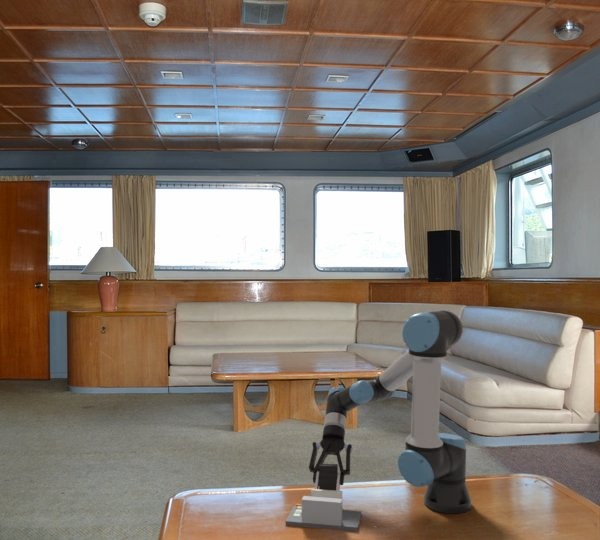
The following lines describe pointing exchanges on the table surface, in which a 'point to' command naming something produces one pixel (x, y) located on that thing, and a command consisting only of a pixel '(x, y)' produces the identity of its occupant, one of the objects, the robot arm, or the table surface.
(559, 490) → the table surface
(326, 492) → the light gray flat plate
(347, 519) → the base
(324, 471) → the door stopper
